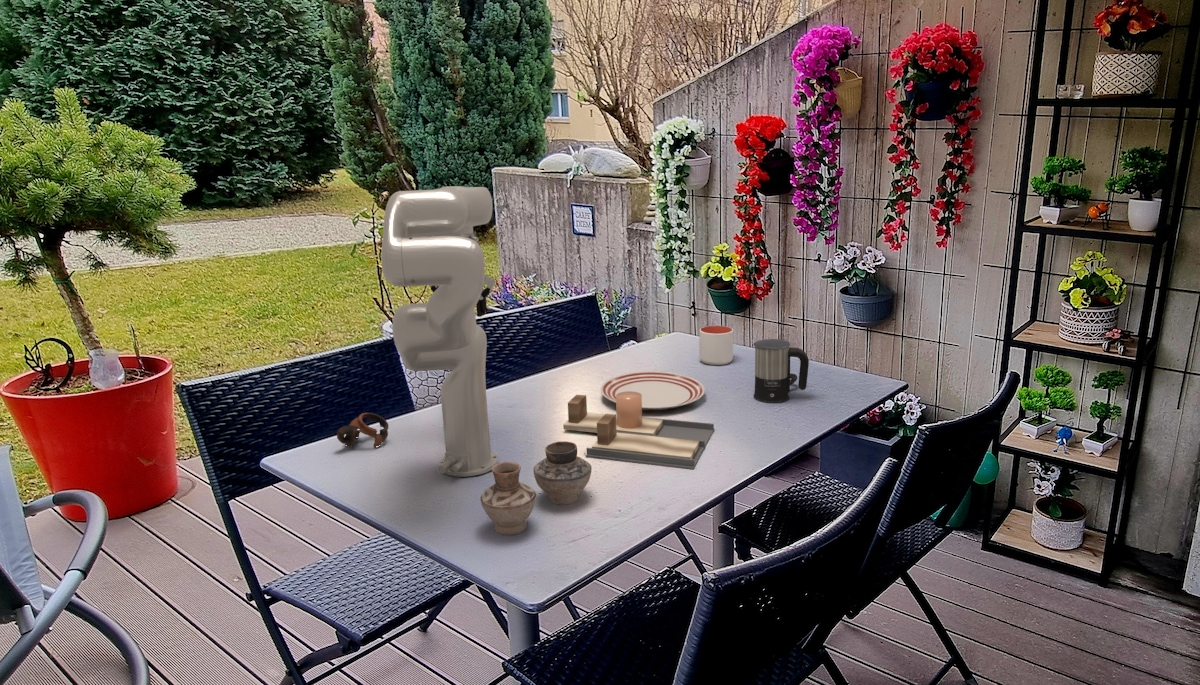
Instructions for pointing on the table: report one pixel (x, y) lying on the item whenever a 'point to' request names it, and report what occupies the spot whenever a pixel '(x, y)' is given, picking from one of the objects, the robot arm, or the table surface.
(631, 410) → the canister
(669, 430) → the lane frame
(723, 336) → the cup
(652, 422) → the strip
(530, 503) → the pottery
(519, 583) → the table surface
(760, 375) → the milk frother
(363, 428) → the brown curved loop
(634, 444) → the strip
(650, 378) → the dinner plate
